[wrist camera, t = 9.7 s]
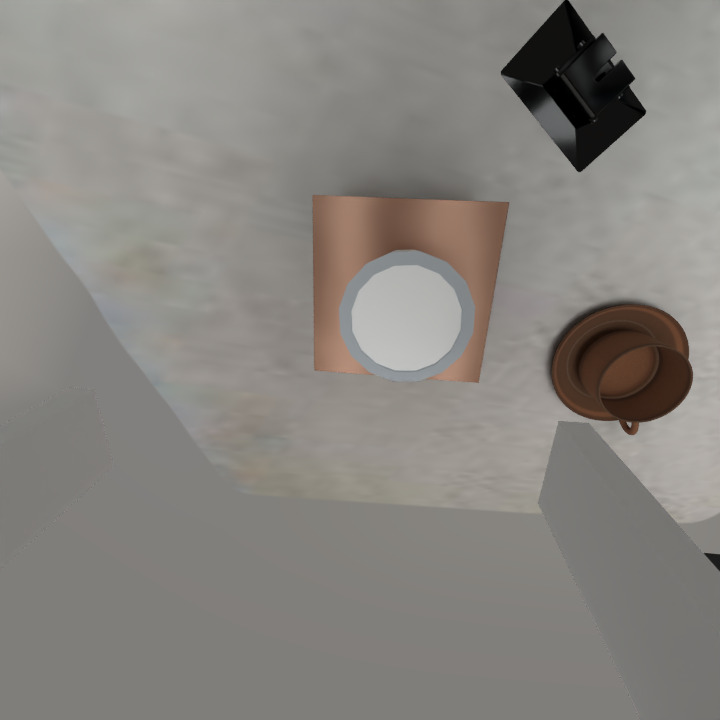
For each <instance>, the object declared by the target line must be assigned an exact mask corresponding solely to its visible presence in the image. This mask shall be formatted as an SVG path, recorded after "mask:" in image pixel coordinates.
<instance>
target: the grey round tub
mask: <svg viewBox="0 0 720 720" xmlns="http://www.w3.org/2000/svg"><path fill="white" fill-rule="evenodd" d="M474 317H475V305H474V302H473V299H472V296H471V294H470V291H469V288H468V285H467V282H466V281H465V280H464V279H463V278H462V277H461V276H460V275H459V274H458V273H457V272H456V271H455V270H454V269H453V268H452V266H451V265H450V264H449V263H448V262H446V261H444V260H441V259H439V258H436V257H434V256H431V255H429V254H426V253H424V252H421V251H418V250H414V249H411V250H395V251H393V252H391V253H388V254H386V255H384V256H382V257H380V258H378V259H375V260H373V261H371V262H369V263H367V264H365V266H364V267H363V268H362V269H361V270H360V271H359V272H358V273H357V274H356V275H355V276H354V278H353V279H352V280H351V281H350V282H349V283H348V284H347V287H346V290H345V293H344V295H343V298H342V301H341V304H340V307H339V320H340V334H341V336H342V338H343V340H344V342H345V344H346V346H347V348H348V350H349V352H350V354H351V356H352V357H353V358H354V359H355V360H356V361H357V362H358V363H360V364H361V365H362V366H363V367H364V368H365V369H366V370H367V371H369V372H370V373H372V374H375V375H378V376H380V377H383V378H385V379H388V380H391V381H421V380H423V379H426V378H429V377H432V376H434V375H437V374H440V373H442V372H443V371H445V370H446V369H447V368H448V367H449V366H450V365H452V364H453V363H454V362H455V361H456V360H457V359H458V358H460V357H461V356H462V354H463V352H464V350H465V348H466V346H467V344H468V342H469V340H470V338H471V336H472V335H473V330H474Z"/></svg>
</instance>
